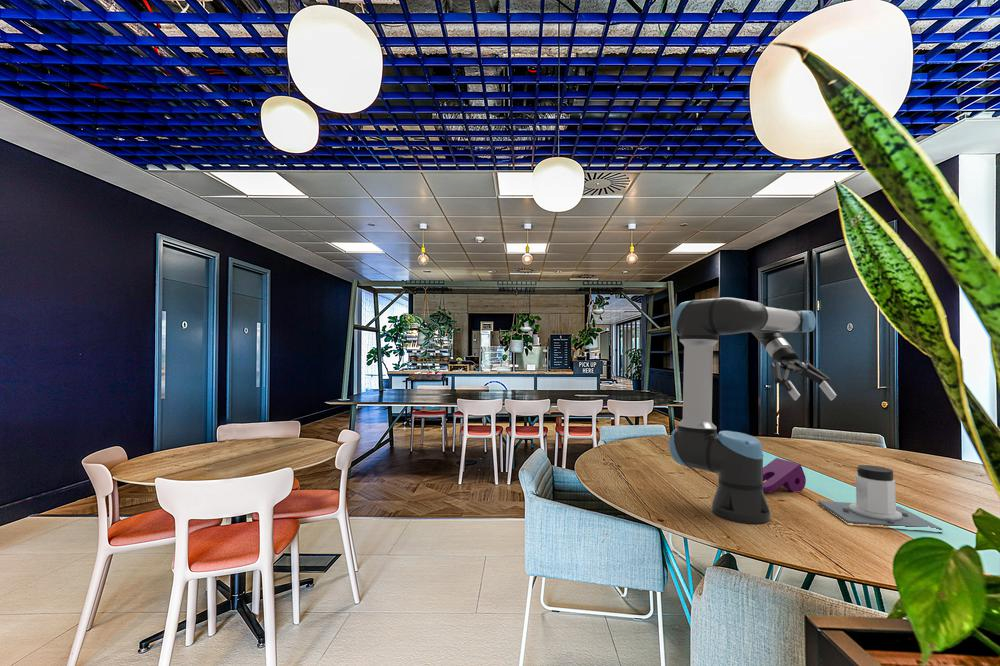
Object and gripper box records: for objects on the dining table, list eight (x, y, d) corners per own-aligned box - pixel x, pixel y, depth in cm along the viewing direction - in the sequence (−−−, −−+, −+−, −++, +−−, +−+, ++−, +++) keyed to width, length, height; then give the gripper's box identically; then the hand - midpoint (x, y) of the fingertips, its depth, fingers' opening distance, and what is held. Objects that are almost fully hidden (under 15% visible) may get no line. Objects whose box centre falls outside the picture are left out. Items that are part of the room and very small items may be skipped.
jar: (850, 504, 138) (849, 464, 138) (878, 505, 138) (877, 464, 138) (873, 514, 129) (872, 472, 129) (902, 515, 129) (902, 472, 129)
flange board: (848, 525, 127) (848, 517, 127) (818, 504, 144) (818, 497, 144) (942, 533, 122) (942, 524, 122) (899, 510, 140) (898, 503, 140)
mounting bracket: (773, 512, 154) (808, 485, 159) (764, 490, 153) (800, 464, 158) (749, 503, 162) (784, 478, 168) (741, 482, 162) (776, 457, 167)
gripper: (806, 360, 174) (841, 404, 158) (746, 359, 171) (776, 404, 155) (817, 346, 169) (855, 390, 153) (756, 345, 166) (788, 390, 150)
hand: (815, 397), depth 154 cm, fingers open, 13 cm apart
